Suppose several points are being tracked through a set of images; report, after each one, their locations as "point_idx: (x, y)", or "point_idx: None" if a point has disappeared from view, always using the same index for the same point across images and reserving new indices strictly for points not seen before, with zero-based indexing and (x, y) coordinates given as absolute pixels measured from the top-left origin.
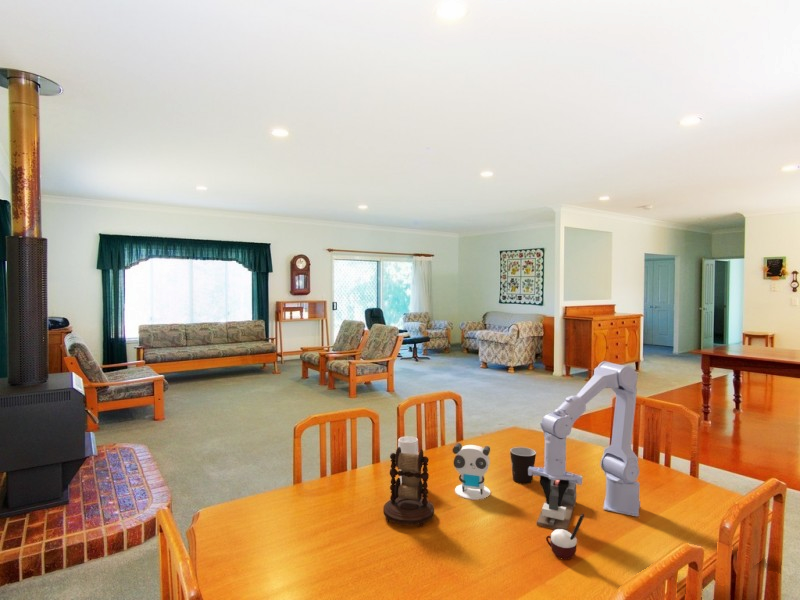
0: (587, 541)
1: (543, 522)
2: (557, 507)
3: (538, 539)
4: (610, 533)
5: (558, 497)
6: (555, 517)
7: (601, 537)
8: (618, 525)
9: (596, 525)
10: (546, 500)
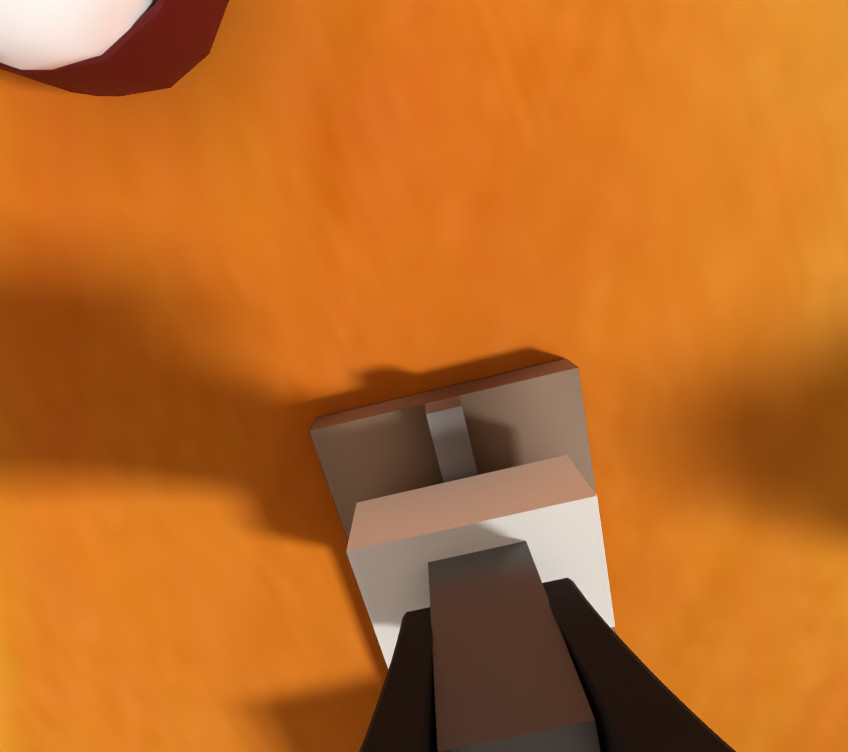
0: (119, 393)
1: (519, 396)
2: (433, 590)
3: (455, 115)
4: (73, 606)
5: (421, 734)
6: (435, 492)
7: (82, 518)
8: (100, 723)
9: (202, 642)
10: (594, 610)
